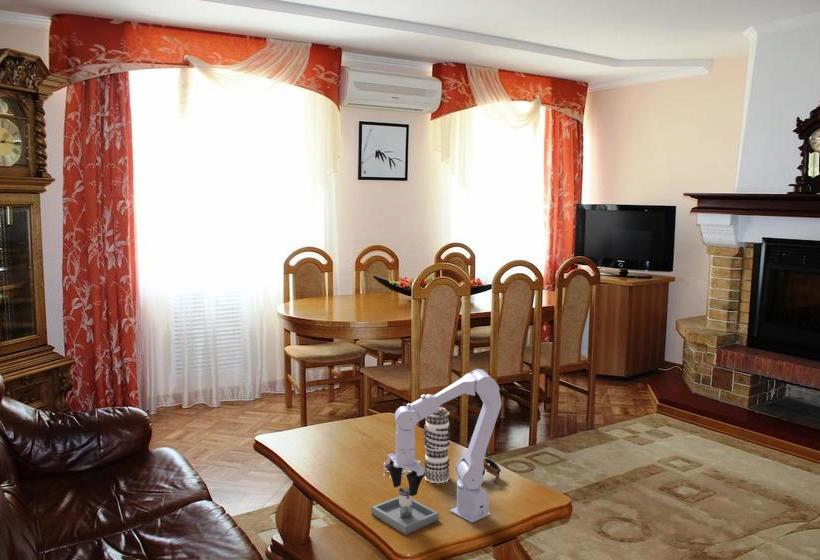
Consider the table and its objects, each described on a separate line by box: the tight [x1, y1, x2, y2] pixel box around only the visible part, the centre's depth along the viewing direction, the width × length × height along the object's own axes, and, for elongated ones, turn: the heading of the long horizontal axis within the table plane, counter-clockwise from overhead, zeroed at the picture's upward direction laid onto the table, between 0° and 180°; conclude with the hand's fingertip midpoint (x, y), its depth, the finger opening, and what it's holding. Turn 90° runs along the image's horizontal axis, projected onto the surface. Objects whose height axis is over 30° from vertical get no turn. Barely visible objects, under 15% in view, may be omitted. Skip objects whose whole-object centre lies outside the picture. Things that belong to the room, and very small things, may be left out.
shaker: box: [398, 486, 413, 519], centre depth 203 cm, size 4×4×8 cm
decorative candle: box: [423, 405, 452, 484], centre depth 229 cm, size 9×9×25 cm
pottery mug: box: [482, 457, 502, 484], centre depth 229 cm, size 12×10×8 cm
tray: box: [371, 496, 440, 536], centre depth 203 cm, size 16×13×2 cm
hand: (405, 490), depth 202 cm, fingers open, 7 cm apart
